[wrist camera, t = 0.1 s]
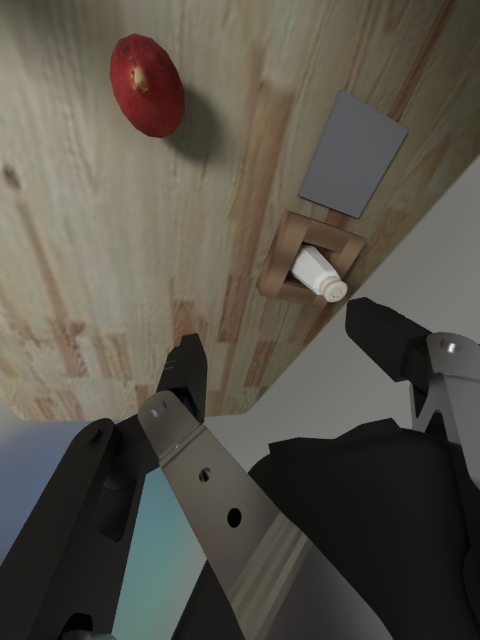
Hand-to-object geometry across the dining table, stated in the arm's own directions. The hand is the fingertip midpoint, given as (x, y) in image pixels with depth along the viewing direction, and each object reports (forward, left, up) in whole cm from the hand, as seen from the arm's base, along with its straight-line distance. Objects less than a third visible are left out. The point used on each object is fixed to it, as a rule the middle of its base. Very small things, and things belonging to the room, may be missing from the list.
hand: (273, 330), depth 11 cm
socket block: (+1, +12, -23) cm, 26 cm away
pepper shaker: (+1, +12, -23) cm, 26 cm away
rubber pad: (-12, +12, -23) cm, 28 cm away
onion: (-10, -11, -23) cm, 27 cm away
